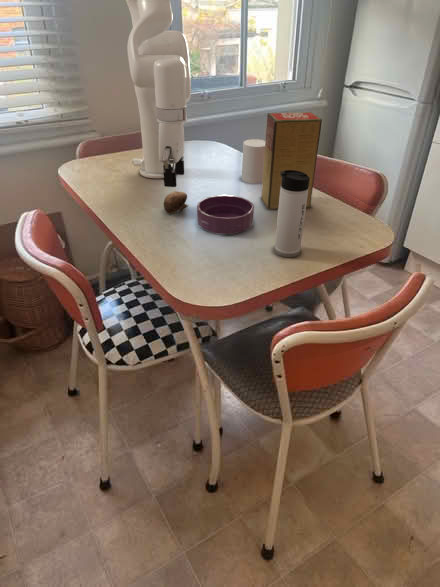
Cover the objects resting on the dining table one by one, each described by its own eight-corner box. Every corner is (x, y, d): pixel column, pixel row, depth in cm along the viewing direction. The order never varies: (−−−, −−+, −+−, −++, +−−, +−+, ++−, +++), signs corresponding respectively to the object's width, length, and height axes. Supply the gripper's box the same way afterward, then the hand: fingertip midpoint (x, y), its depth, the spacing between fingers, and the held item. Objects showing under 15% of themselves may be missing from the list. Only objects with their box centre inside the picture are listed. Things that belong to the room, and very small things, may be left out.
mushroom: (198, 198, 127) (184, 182, 123) (188, 218, 123) (174, 202, 119) (178, 204, 132) (165, 189, 128) (169, 224, 128) (154, 209, 124)
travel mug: (270, 245, 111) (278, 167, 100) (296, 245, 112) (306, 167, 100) (275, 258, 106) (283, 177, 95) (302, 257, 107) (313, 177, 95)
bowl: (192, 233, 116) (192, 215, 113) (202, 209, 128) (202, 193, 125) (250, 238, 114) (251, 220, 111) (254, 213, 127) (256, 197, 124)
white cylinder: (265, 175, 152) (268, 139, 145) (265, 184, 146) (268, 147, 139) (242, 174, 153) (244, 138, 146) (240, 182, 146) (242, 146, 139)
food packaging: (301, 195, 138) (312, 111, 124) (311, 207, 130) (324, 119, 116) (260, 197, 136) (266, 112, 122) (267, 210, 129) (275, 120, 114)
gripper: (165, 106, 119) (168, 169, 129) (147, 121, 105) (152, 190, 114) (192, 108, 118) (194, 171, 128) (178, 122, 104) (181, 192, 114)
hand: (174, 180), depth 121 cm, fingers open, 9 cm apart
